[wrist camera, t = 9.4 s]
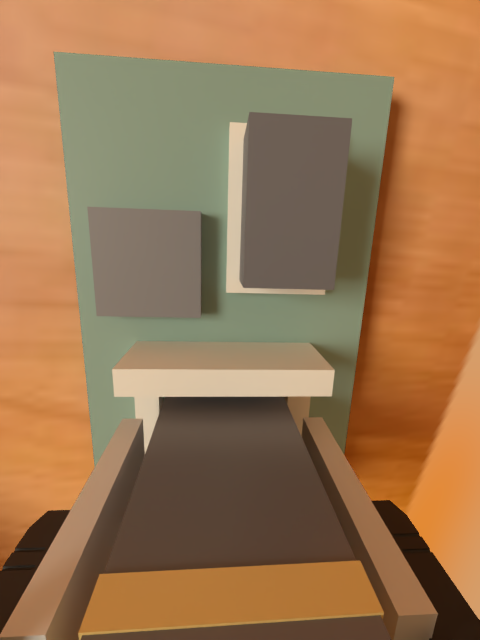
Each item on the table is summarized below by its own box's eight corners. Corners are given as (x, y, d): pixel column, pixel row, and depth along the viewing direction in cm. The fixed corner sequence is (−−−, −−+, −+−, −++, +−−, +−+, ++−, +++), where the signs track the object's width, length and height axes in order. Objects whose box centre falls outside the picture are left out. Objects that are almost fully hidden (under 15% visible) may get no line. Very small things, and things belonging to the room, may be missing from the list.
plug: (171, 374, 13) (37, 744, 3) (275, 374, 13) (428, 708, 4) (173, 464, 14) (78, 941, 4) (269, 462, 14) (376, 898, 5)
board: (70, 71, 11) (-14, -27, 7) (377, 93, 12) (457, 15, 8) (112, 536, 17) (76, 631, 12) (324, 529, 17) (355, 616, 13)
